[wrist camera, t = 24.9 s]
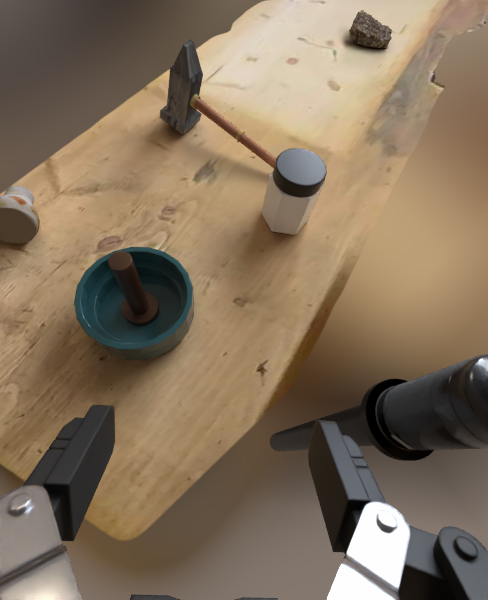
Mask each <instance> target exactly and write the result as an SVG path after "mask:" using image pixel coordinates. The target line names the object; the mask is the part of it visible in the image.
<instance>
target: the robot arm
mask: <svg viewBox="0 0 488 600" xmlns="http://www.w3.org/2000/svg"><path fill="white" fill-rule="evenodd" d="M374 417H375V421H376V424H377V427H378V429H379V431H380V433H381V434H382V436H383V437H384V438H385V439H386V440H387V441H388V442H389V443H390V444H391V445H393V446H395V447H396V448H398V449H401V450H405V451H418V450H446V449H480V448H488V354H485V355H481V356H476V357H474V358H471V359H468V360H466V361H463V362H460V363H457V364H455V365H452V366H449V367H447V368H444V369H441V370H439V371H436V372H433V373H430V374H428V375H425V376H422V377H420V378H417V379H414V380H411V381H409V382H406V383H403V384H400V385H397V386H393V387H390V388H387V389H385V390H384V391H383V392H382V393H381V394H380V395H379V396H378V398H377V400H376V402H375V406H374ZM114 443H115V414H114V407H113V406H106V405H92V406H91V408H90V409H89V411H88V412H87V414H86V416H85V417H84V418H74V419H73V420H72V421H70V422H69V423H68V424H66V425H65V426H64V427H63V428H62V430H61V431H60V432H59V434H58V435H57V437H56V439H55V440H54V441H53V443H52V444H51V445H50V447H49V450H47V451H46V453H45V454H44V456H43V457H42V459H41V460H40V461H39V463H38V464H37V466H36V467H35V469H34V470H33V472H32V473H31V475H30V476H29V477H28V479H27V480H26V482H25V483H24V485H23V486H22V487H19V488H16V489H14V490H12V491H10V492H9V493H7V494H6V495H5V496H3V497H2V498H1V499H0V600H81V596H80V592H79V589H78V585H77V582H76V579H75V575H74V572H73V569H72V565H71V562H70V559H69V555H68V552H67V549H66V547H65V546H63V544H62V541H74V539H75V537H76V534H77V532H78V529H79V528H80V525H81V523H82V521H83V518H84V516H85V514H86V512H87V509H88V507H89V505H90V503H91V500H92V498H93V496H94V493H95V491H96V489H97V487H98V484H99V482H100V480H101V477H102V475H103V473H104V471H105V468H106V466H107V464H108V462H109V459H110V457H111V455H112V452H113V448H114ZM308 456H309V457H308V458H309V467H310V471H311V474H312V478H313V481H314V485H315V488H316V492H317V496H318V499H319V503H320V506H321V510H322V514H323V517H324V521H325V524H326V528H327V531H328V535H329V539H330V542H331V545H332V549H333V552H344V553H345V556H344V558H343V561H342V563H341V565H340V568H339V571H338V573H337V576H336V579H335V581H334V583H333V586H332V588H331V591H330V593H329V596H328V599H327V600H488V551H487V550H486V548H485V547H484V546H483V545H482V544H481V543H480V542H479V541H478V540H477V539H476V538H474V537H473V536H472V535H470V534H469V533H467V532H466V531H464V530H461V529H459V528H456V527H444V528H442V529H441V530H440V532H439V535H438V536H437V535H434V534H430V533H428V532H425V531H422V530H419V529H417V528H414V527H412V526H409V525H408V523H407V521H406V520H405V518H404V517H403V516H402V515H401V514H400V513H399V512H398V511H397V510H396V509H395V508H393V507H392V506H390V505H388V504H387V503H386V501H385V499H384V497H383V495H382V493H381V491H380V489H379V487H378V485H377V483H376V481H375V479H374V477H373V475H372V473H371V471H370V469H369V468H368V464H367V462H366V460H365V459H364V456H363V454H362V452H361V450H360V448H359V446H358V445H357V444H356V443H355V442H354V441H353V440H352V439H351V438H350V437H349V436H344V435H342V434H341V432H340V430H339V427H338V425H337V423H336V422H334V421H320V420H317V421H316V422H315V425H314V429H313V434H312V438H311V443H310V447H309V454H308ZM130 600H179V599H176V598H174V597H171V596H166V595H131V598H130ZM236 600H278V599H277V598H240V599H236Z"/></svg>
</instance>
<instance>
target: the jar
mask: <svg viewBox="0 0 488 600" xmlns="http://www.w3.org/2000/svg"><path fill="white" fill-rule="evenodd" d="M325 176H326V166H325V164H324V162H323V160H322V159H321V158H320V157H319V156H317V155H316V154H315V153H313V152H311V151H308V150H305V149H299V148H294V149H288V150H285V151H284V152H282V153H281V154H280V155H279V156H278V157H277V159H276V162H275V167H274V171H273V172H272V173H271V174H270V176H269V181H268V185H267V189H266V194H265V198H264V202H263V207H262V211H261V214H262V215H263V217H264V219H265V221H266V222H267V224H268V226H269V228H270V229H271V231H273V232H280V233H286V234H293V235H296V234H297V233H298V232H299V230H300V229H301V228H302V227H303V226H304V224H305V223H306V222H307V221H308V219H309V217H310V215H311V212H312V210H313V208H314V206H315V203H316V201H317V199H318V196H319V194H320V192H321V190H322V187H323V185H324V183H323V182H324V180H325Z"/></svg>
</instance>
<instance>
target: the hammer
mask: <svg viewBox="0 0 488 600" xmlns="http://www.w3.org/2000/svg"><path fill="white" fill-rule="evenodd" d="M202 77H203V73H202V70H201V67H200V63H199V59H198V56H197V52H196V48H195V45H194V42H193V41H192V40H189V41H188V42H187V43H185V44H184V45H183V47H182V49H181V51H180V53H179V55H178V57H177V59H176V61H175V63H174V65H173V66H172V67H171V68H170V78H169V89H168V100H167V106H165V107H164V108H163V109H162V110H160V118H161V119H163V120H164V121H165V122H167V123H168V124H169V125H170V126H172V127H173V128H174V129H176V130H177V131H178V132H180V133H181V134H182V135H184V134H185V133H186V132H187V131H188V130H189V129H191V128H192V127H193V126H194V125H195V124H196V123H197V122H198V121H200V117H201V113H200V112H202V113H203V114H204V115H205V116H207V117H208V118H209V119H211V120H212V121H213V122H215V123H216V124H217V125H218V126H220V127H221V128H222V129H224V130H225V131H226V132H228V133H229V134H230V135H231V136H233V137H234V138H235V139H237V141H238V142H241V143H242V144H243V145H244V146H246V147H247V148H248V149H250V150H251V151H252V152H254V153H255V154H256V155H257V156H259V157H260V158H261V159H263V160H264V161H265V162H266V163H268V164H269V165H270V166H272V167H273V168H274V167H275V162H276V158H275V157H273V156H272V155H271V154H270V153H268V152H267V151H266V150H265V149H263V148H262V147H261V146H259V145H258V144H257V143H256V142H254V141H253V140H252V139H250V138H249V137H248V136H247V135H245V134H244V132H242V131H240V130H239V129H238V128H236V127H235V126H234V125H233V124H231V123H230V122H229V121H227V120H226V119H225V118H224V117H222V116H221V115H220V114H218V113H217V112H216V111H215V110H213V109H212V108H211V107H210V106H208V105H207V104H206V103H204V102H203V101H202V100H201V99H200V97H199V93H200V87H201V82H202ZM196 109H198V110H199V111H200V112H198V111H197V110H196Z"/></svg>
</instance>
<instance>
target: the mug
mask: <svg viewBox="0 0 488 600" xmlns="http://www.w3.org/2000/svg"><path fill="white" fill-rule="evenodd" d="M33 202H34V197H33V195H32V193H31V192H30V191H29V190H28V189H26V188H24V187H21V186H11V187H9V188H8V189H7V190H6V192H5V194H4V196H1V197H0V240H1V241H4V242H10V243H17V244H21V243H25V242H28V241H30V240H32V239H33V237H34V236H35V235H36V234H37V232H38V230H39V217H38V214H37V212H36V210H35V208H34V206H33Z"/></svg>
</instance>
